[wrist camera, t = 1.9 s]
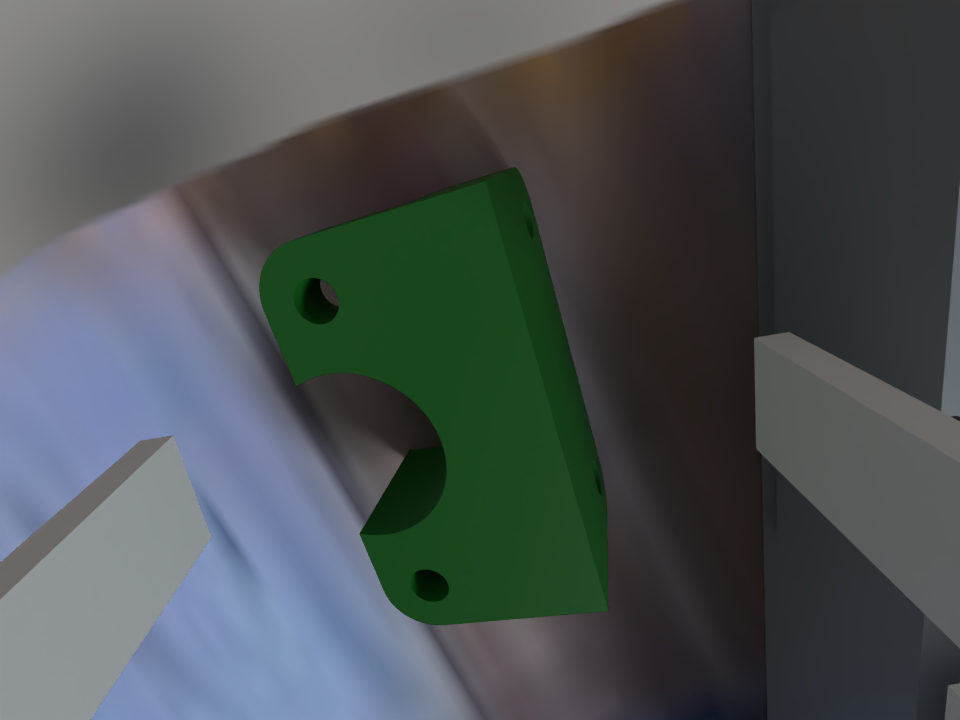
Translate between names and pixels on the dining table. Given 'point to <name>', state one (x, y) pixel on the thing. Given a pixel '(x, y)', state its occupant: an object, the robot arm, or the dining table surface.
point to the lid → (953, 702)
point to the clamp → (459, 400)
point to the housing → (855, 316)
